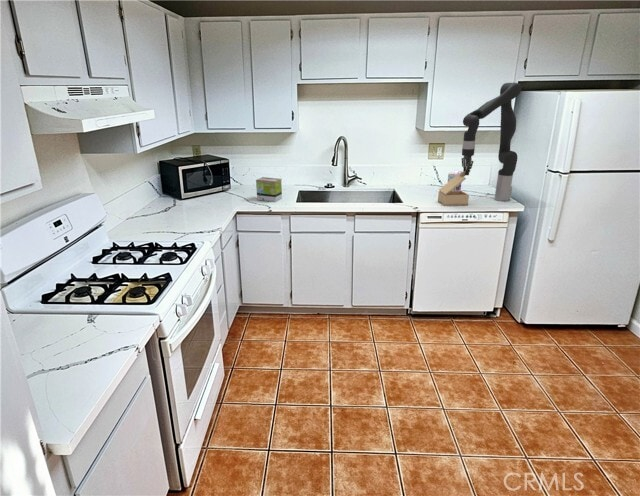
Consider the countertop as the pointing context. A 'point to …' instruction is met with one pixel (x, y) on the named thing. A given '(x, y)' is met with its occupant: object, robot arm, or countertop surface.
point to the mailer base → (453, 198)
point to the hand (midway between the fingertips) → (465, 174)
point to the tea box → (269, 189)
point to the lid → (453, 183)
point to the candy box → (452, 175)
